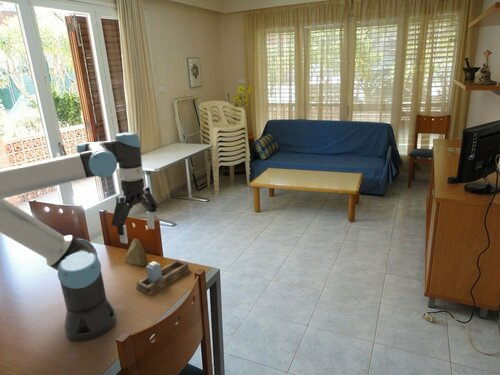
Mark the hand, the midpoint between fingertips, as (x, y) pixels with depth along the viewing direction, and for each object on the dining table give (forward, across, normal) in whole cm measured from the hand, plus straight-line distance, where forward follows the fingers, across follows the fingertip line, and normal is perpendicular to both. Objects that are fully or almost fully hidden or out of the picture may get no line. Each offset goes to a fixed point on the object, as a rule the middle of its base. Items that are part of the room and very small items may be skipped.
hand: (138, 235), depth 131 cm
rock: (+21, +13, +15) cm, 29 cm away
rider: (+20, +3, -3) cm, 20 cm away
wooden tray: (+21, +7, -4) cm, 22 cm away
